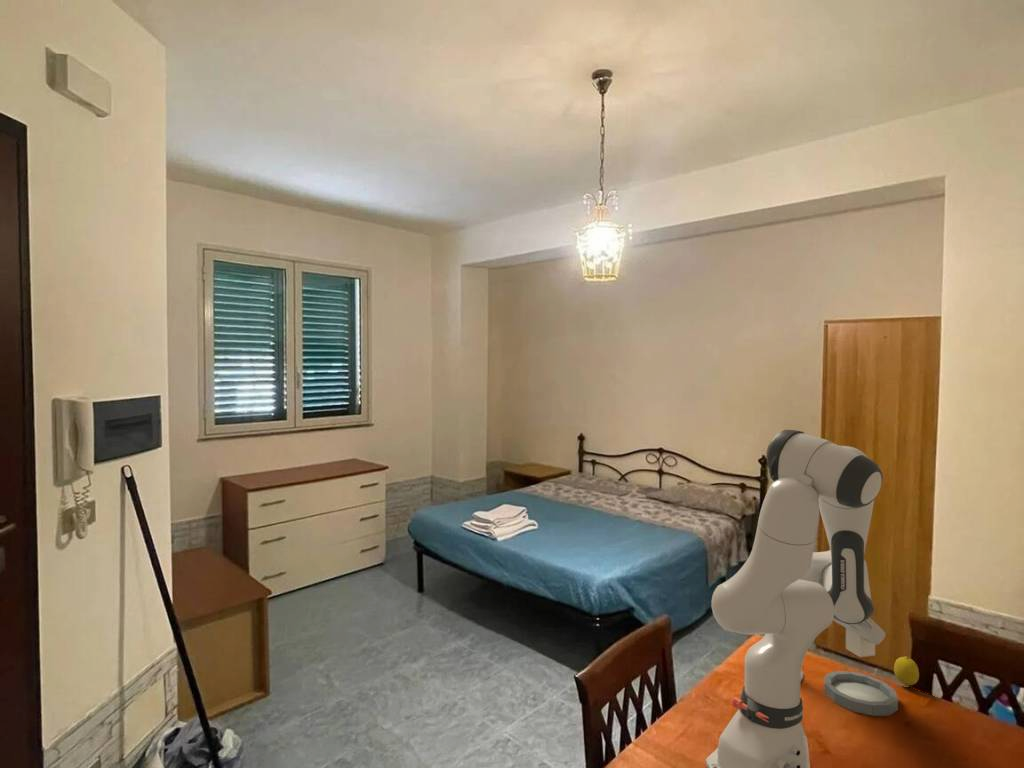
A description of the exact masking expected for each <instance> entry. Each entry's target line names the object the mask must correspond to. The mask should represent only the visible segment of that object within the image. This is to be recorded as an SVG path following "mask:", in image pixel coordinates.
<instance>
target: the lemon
mask: <svg viewBox="0 0 1024 768" xmlns="http://www.w3.org/2000/svg"><path fill="white" fill-rule="evenodd" d="M893 672H894V674H895V675H894V676H895V678H896V679H897V680H898V681H899V682H900V683H901V684H903V685H904V686H905V687H909V686H913V685H916V684H917V682H918V681H919V678H920V672H919V667H918V664H917V663H916V662H915V661H914V660H913V659H912V658H909V656H901V657H898V658H896V660H895V662H894V666H893Z"/></svg>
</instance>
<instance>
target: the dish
mask: <svg viewBox="0 0 1024 768" xmlns="http://www.w3.org/2000/svg"><path fill="white" fill-rule="evenodd" d="M823 680H824V686H825V687H824V694H825V695H826V696H827V695H828V696H827V697H828V698H829V699H830V700H831V699H832V700H831V701H832V702H833V701H834V702H833V703H834V704H836V703H837V704H836V705H838V704H839V706H841V707H843V708H845V709H848V710H849V711H851V712H855V713H857V714H858V713H859V714H863V715H868V716H872V717H876V716H877V717H880V716H882V717H883V716H884V717H885V716H891V715H892V714H894V713H895V712H897V711H899V699H898V695H897V692H896V690H895V689H894V688H893V687H891V686H890V685H889V684H887V682H884V681H882V680H880V679H878V678H875V677H873V676H870V675H868V674H865V673H860V672H855V671H851V670H849V671H848V670H841V671H840V670H838V671H831V672H829V673H827V674H826V675H824V679H823Z"/></svg>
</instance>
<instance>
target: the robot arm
mask: <svg viewBox="0 0 1024 768" xmlns="http://www.w3.org/2000/svg"><path fill="white" fill-rule="evenodd" d="M765 455H766V457H765V459H766V464H767V468H768V470H769V476H770V479H771V480H772V481H773V482H771V484H770V485H769V488H768V490H767V492H766V494H765V495H764V499H763V502H762V504H761V508H760V511H759V516H758V520H757V526H756V532H755V536H754V541H753V544H752V549H751V551H750V554H749V556H748V558H747V559H746V561H745V562H744V564H743V565H742V566H741V568H740V569H739V570H738V571H737V572H736V573H735V574H734V575H733V576H731V577H730V578H729V579H727V580H726V581H724V582H722V583H720V584H719V585H717V587H715V589H714V591H713V593H712V597H711V610H712V615H713V616H714V618H715V620H716V622H717V624H718V625H719V626H720V627H721V628H722V630H725V631H727V632H732V633H737V634H743V635H748V636H749V635H764V636H762V638H761V639H760V640H758V641H757V642H755V643H754V644H752V645H751V646H750V647H749V648H748V650H747V651H746V653H745V656H744V685H743V687H742V691H741V693H740V698H738V697H737V696H734V697H733V698H732V699H731V701H730V702H731V705H732V707H734V708H737V711H736V712H735V713H734V715H733V717H732V718H731V719H730V721H729V723H727V726H726V727H725V729H724V730H723V731H722V732H721V734H720V736H719V739H718V743H717V744H718V745H717V748H716V749H715V750H714V751H713V752H712V753H710V755H708V757H706V759H705V765H706V767H707V768H811V765H810V753H809V752H810V751H809V742H808V737H807V734H806V733H805V730H804V727H803V723H802V721H803V719H804V718H803V713H804V706H803V700H802V697H801V682H802V681H801V670H802V668H803V663H804V659H805V657H806V654H807V652H808V650H809V649H810V646H811V645H812V643H813V642H814V641H815V640H816V639H817V637H818V635H820V634H821V633H822V632H823V631H825V630H826V629H827V628H829V627H830V626H831V625H832V623H833V622H835V623H836V624H838V625H840V626H842V627H844V628H845V629H846V628H847V629H849V630H851V631H853V632H854V633H856V634H858V635H860V636H862V637H863V638H864V639H865V640H866V641H868V642H869V643H871V644H872V643H874V644H875V646H877V645H879V644H881V643H882V642H883V640H884V639H885V638H886V631H884V629H882V628H881V627H880V626H879V625H878V624H877V623H876V622H875V621H874V620H873V619H872V618H871V617H872V616H873V615H874V613H875V610H874V604H873V600H872V595H871V594H872V593H871V587H870V581H869V572H868V565H867V561H866V559H865V553H866V545H867V542H868V536H869V530H870V525H871V521H872V516H873V515H872V514H873V510H874V509H873V508H874V503H875V499H876V497H877V496H878V494H879V493H880V490H881V487H882V484H883V472H882V470H881V468H880V467H879V465H878V464H877V462H875V461H873V460H872V459H871V458H868V456H867V455H866V454H865V453H864V451H862V450H860V449H859V448H856V447H854V446H848V445H839V444H836V443H834V442H833V441H831V440H828V439H825V438H822V437H818V436H815V435H811V434H807V433H805V432H803V431H800V430H797V429H795V430H794V429H783V430H782V431H780V432H778V433H776V434H775V435H774V436H773V438H771V440H770V442H769V444H768V446H767V449H766V454H765ZM820 516H821V520H822V524H823V526H824V530H825V533H826V534H825V535H826V537H827V538H826V539H827V542H828V545H829V549H828V550H825V551H817V552H815V546H816V541H817V537H818V531H819V524H820Z"/></svg>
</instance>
